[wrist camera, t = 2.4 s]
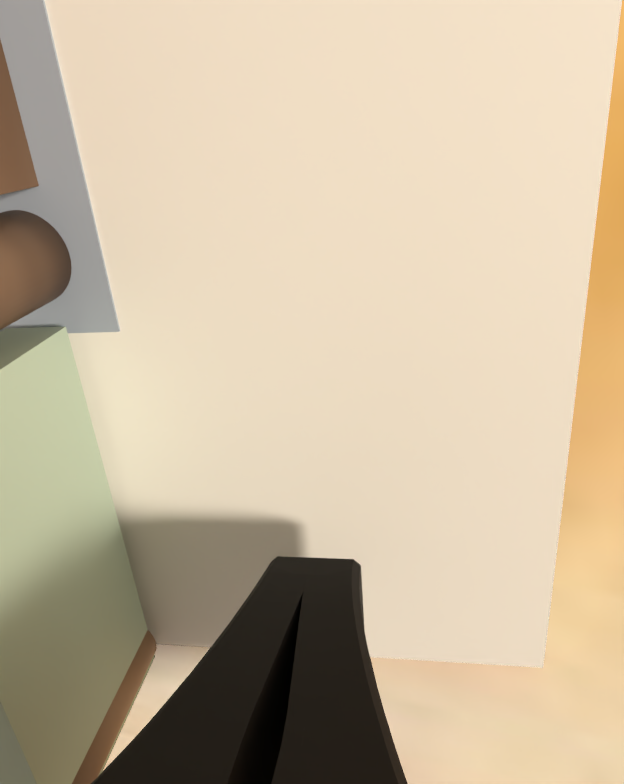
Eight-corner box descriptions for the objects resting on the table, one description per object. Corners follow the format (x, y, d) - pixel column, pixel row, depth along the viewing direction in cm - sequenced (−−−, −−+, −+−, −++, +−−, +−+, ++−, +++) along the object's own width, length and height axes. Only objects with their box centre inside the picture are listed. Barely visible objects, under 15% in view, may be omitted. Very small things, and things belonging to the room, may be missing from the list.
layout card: (537, 645, 12) (543, 669, 11) (-200, 604, 14) (-222, 622, 14) (698, -818, 5) (731, -921, 4) (-770, -356, 7) (-852, -389, 7)
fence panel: (0, 328, 9) (-208, 443, 6) (71, 326, 9) (-105, 444, 6) (106, 659, 12) (3, 848, 9) (161, 663, 12) (75, 858, 9)
